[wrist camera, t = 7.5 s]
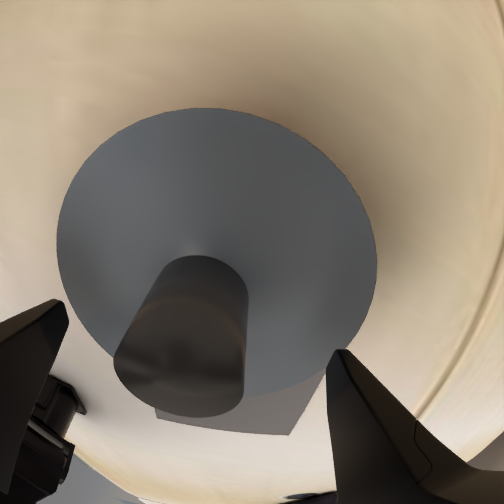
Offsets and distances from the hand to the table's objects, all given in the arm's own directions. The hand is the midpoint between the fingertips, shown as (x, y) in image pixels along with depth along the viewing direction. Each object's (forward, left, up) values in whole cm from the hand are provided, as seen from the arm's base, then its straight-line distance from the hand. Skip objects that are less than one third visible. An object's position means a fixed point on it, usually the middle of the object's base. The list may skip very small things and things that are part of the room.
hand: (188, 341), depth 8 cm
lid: (0, 0, -3) cm, 3 cm away
